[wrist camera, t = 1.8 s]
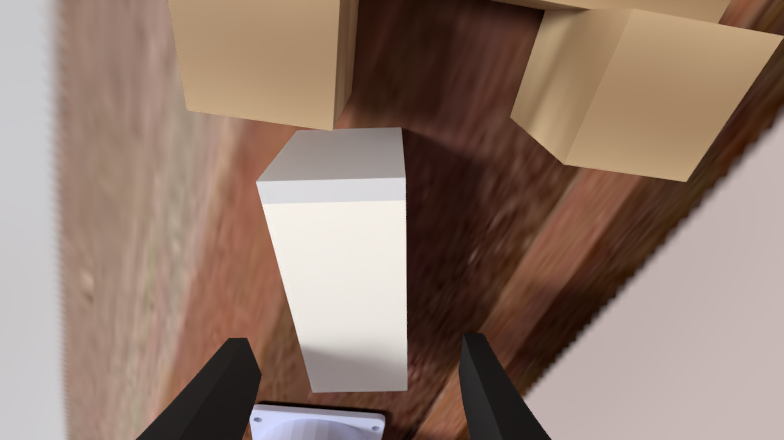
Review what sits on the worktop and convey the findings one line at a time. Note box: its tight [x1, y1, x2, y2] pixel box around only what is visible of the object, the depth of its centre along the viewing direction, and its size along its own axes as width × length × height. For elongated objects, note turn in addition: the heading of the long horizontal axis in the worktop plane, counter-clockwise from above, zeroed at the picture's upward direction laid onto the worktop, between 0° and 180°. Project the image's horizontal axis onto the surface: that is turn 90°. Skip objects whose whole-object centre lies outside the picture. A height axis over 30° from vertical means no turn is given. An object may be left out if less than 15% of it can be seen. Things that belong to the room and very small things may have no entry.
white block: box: [256, 127, 407, 392], centre depth 12 cm, size 9×4×4 cm, turn 2°
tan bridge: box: [168, 0, 784, 182], centre depth 8 cm, size 4×11×4 cm, turn 82°
